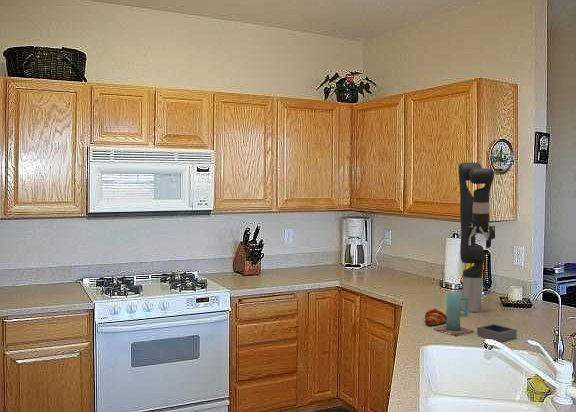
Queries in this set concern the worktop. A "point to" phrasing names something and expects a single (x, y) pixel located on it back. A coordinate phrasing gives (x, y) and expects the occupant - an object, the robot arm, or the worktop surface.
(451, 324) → the jug
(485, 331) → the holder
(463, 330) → the board
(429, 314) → the croissant
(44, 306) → the worktop surface
